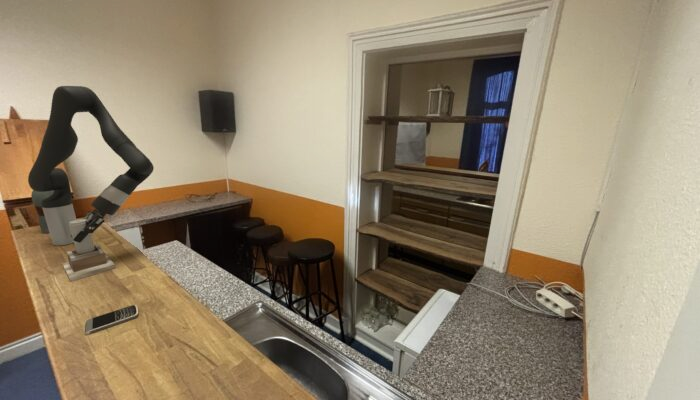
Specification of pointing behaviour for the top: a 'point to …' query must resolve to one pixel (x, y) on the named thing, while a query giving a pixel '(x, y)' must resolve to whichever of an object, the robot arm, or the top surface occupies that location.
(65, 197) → the robot arm
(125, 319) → the cell phone
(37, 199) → the bottle
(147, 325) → the top surface
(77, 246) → the beverage can
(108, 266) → the pedestal base
